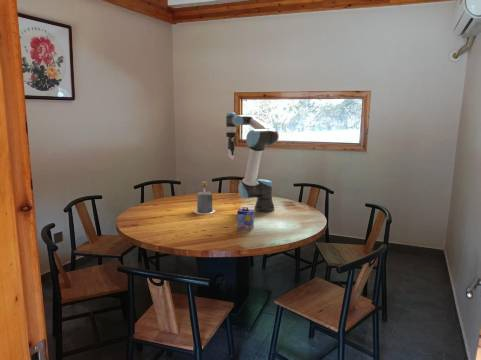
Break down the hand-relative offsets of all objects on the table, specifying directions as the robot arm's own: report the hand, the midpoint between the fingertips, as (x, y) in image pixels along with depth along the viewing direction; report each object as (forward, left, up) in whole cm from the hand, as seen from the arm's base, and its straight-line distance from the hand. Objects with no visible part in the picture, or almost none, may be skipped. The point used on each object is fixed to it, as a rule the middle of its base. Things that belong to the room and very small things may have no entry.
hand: (231, 158), depth 301 cm
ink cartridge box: (+1, +72, -37) cm, 81 cm away
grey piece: (+24, +28, -36) cm, 51 cm away
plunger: (+24, +29, -32) cm, 50 cm away
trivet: (+24, +29, -37) cm, 53 cm away
